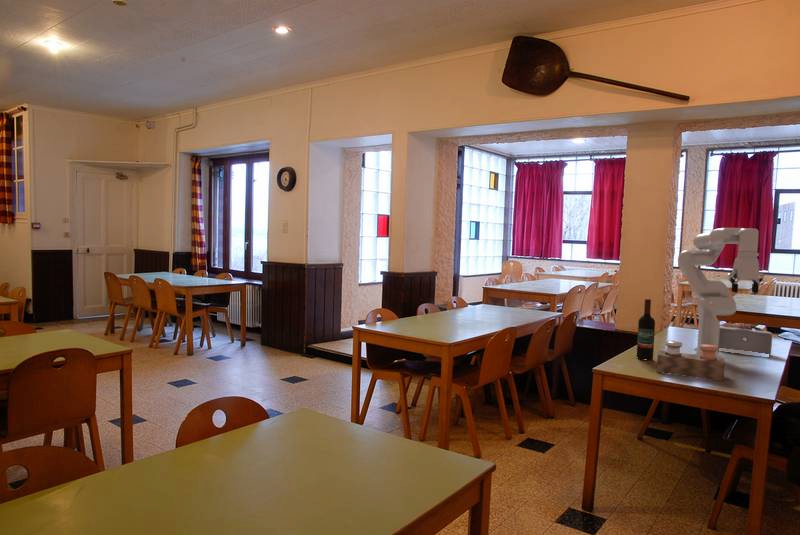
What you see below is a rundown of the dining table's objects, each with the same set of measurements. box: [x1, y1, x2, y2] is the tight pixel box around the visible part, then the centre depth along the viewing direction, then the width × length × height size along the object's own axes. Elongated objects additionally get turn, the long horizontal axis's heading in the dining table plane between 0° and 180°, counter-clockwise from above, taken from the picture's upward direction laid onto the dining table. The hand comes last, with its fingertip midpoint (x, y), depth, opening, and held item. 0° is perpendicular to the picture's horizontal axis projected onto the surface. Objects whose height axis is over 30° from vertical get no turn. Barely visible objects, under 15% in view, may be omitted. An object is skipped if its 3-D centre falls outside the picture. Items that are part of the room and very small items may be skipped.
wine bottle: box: [636, 298, 656, 361], centre depth 267 cm, size 8×8×30 cm
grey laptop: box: [719, 326, 773, 358], centre depth 289 cm, size 25×16×12 cm, turn 53°
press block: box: [656, 349, 726, 382], centre depth 241 cm, size 26×11×8 cm, turn 61°
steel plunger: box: [664, 340, 683, 356], centre depth 244 cm, size 7×7×9 cm
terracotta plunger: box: [700, 344, 718, 361], centre depth 237 cm, size 7×7×9 cm
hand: (744, 292), depth 246 cm, fingers open, 9 cm apart
